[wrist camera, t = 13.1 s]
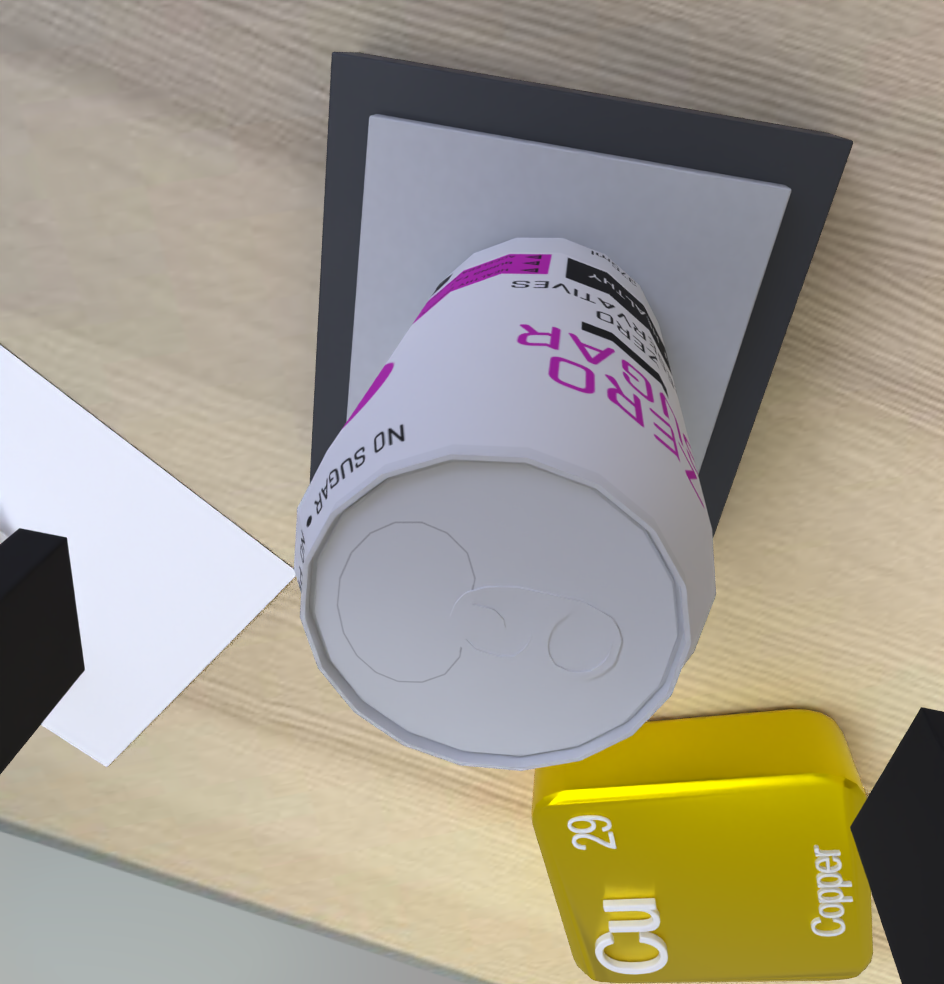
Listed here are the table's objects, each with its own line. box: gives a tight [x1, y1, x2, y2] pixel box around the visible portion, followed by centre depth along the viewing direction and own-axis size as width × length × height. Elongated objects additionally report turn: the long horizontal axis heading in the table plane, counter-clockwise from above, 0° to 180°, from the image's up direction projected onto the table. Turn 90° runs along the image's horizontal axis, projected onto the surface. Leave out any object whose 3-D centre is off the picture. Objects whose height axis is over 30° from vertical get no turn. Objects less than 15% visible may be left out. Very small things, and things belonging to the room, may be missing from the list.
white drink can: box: [294, 238, 716, 771], centre depth 21 cm, size 8×8×15 cm
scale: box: [310, 52, 853, 537], centre depth 29 cm, size 16×16×4 cm
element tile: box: [532, 709, 873, 983], centre depth 40 cm, size 15×15×5 cm
